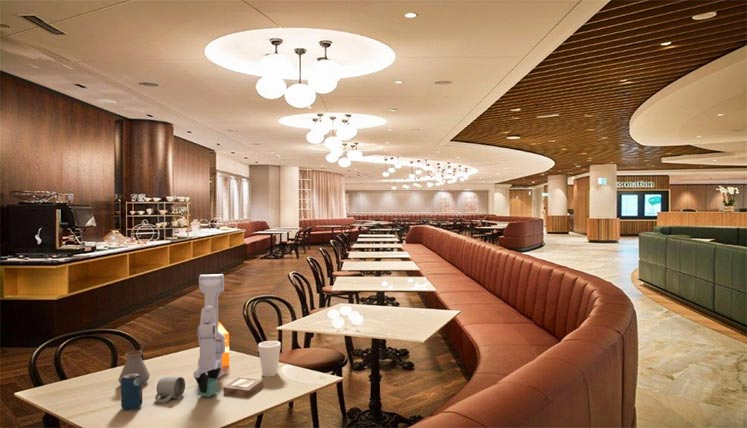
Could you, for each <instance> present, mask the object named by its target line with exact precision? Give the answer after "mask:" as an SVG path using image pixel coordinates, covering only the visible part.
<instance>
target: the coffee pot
mask: <svg viewBox="0 0 747 428" xmlns="http://www.w3.org/2000/svg"><path fill="white" fill-rule="evenodd" d="M148 340H149V341H148ZM149 342H151V338H149V337H147V338H145V340H144V342H143V344H142V345H141V347H140V349H139V350H133V351H128V352H126V353H125V354H124V355H125V357H126V361H125V363H124V365H123V367H122V370H121V372H120V375H119V376H118V382H119V384H120V385H121V380H122V378H123V375H124V374H127V373H131V372H139V373H140V375H141V377H142V386H143V385H145V384H146V382H147V381H149V379H150V376H151V375H150V371H149V370H148V368H147V366H146V363H145V362H144V360H143V358H142V356H143V354H144V353H143V351H144V349H145V348H146V345H147V343H149Z"/></svg>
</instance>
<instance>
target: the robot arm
mask: <svg viewBox="0 0 747 428" xmlns="http://www.w3.org/2000/svg"><path fill="white" fill-rule="evenodd" d="M198 287H199V290H200V291H201V293H202V294H204V306H203V308H201V312H200V320H199V322H200V323H199V325H198V327H197V338H198V339H197V340H198V345H199V358H198V361H197V362H198V363H197V369H196V370H195V371H193V375H192V376H193V378H194V379H195V381H196V383H197V386H198V385H199V388H200V391H201V393H206V392H207V383H208V379H209V378H214V379H217V380H218V379H220V378H221V377H223V376H224V375H226V374H227V371H223V367H222V354H224V353H225V336H224V334H222V333H221V332H219V331H218V322H219V296H220V294H222V293H223V292H224V290H225V275H224V274H223V273H219V274H218V273H217V274H216V273H215V274H201V273H200V275H198Z"/></svg>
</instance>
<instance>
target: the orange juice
mask: <svg viewBox="0 0 747 428" xmlns="http://www.w3.org/2000/svg"><path fill="white" fill-rule="evenodd" d="M226 329H227V328H225V327H224V325H223V324H222V323H221V322H220V321H218V331H219V332H221V333H222V334H224V336H225V353H224V354H222V368H223V367H225V366H226V367H227V366H230V332H228V331H227V330H226Z"/></svg>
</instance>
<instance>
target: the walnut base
mask: <svg viewBox="0 0 747 428" xmlns="http://www.w3.org/2000/svg"><path fill="white" fill-rule="evenodd" d="M263 387H264V380H263V379H258V378H257V379H256V378H249V377H240V376H239V377H237V378H235V379H234V380H232V381H231V382H230V383H228V384H226V385H225V386H223V394H224V395H233V396H237V397H251V396H252V395H253V394H255V393H256V392H257V391H259V390H260V389H262V388H263Z"/></svg>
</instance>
